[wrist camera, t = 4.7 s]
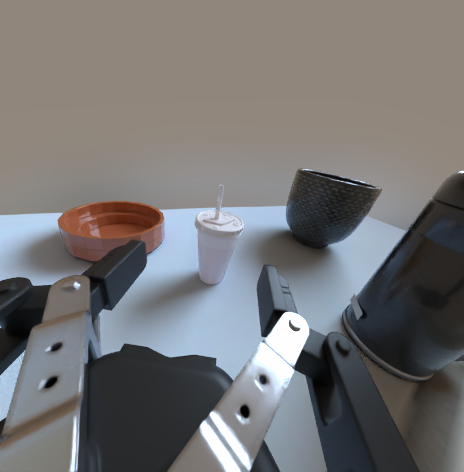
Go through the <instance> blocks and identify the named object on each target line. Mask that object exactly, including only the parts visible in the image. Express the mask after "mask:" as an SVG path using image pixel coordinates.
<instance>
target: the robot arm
mask: <svg viewBox="0 0 464 472" xmlns="http://www.w3.org/2000/svg"><path fill="white" fill-rule="evenodd" d="M146 263H147V255H146V243H145V242H144V241H139V240H134V239H132V240H130V241H129V242H128V243H127V244H125V245H121V246H119V247H116V248H114V249H112V250H111V251H110V252H109V253H107V255H105V256H104V257H103V258H102V259H100V260H99V261H98V262H96V263H95V264H94V265H93V266H91V267H90V268H89V269H88V270H86V271H85V272H84V273H83V274H81V275H73V276H69V277H65V278H63V279H61V280H59V281H57V282H56V283H54V284H53V285H43V286H32V284H31V282H30V280H29V279H27V278H22V277H17V278H10V279H6V280H2V281H0V326H1V328H0V375H1V374H2V373H3V372H4V371H5V370H6V369H7V368H8V367H9V366H10V365H11V364H12V363H13V362H14V361H15V360H16V359H17V358H18V357H19V356H20V355H21V354H22V353H23V352H24V351H25V350H26V351H25V354H24V358H23V361H22V365H21V368H20V372H19V375H18V379H17V382H16V386H15V389H14V393H13V397H12V400H11V404H10V407H9V411H8V414H7V417H6V418H4V419H3V420H1V421H0V472H280V470H279V468H278V466H277V464H276V462H275V460H274V458H273V456H272V454H271V452H270V450H269V448H268V446H267V444H266V442H265V441H264V438H265V435H266V433H267V431H268V429H269V426H270V424H271V422H272V420H273V418H274V415H275V413H276V411H277V409H278V406H279V404H280V402H281V400H282V397H283V395H284V393H285V391H286V388H287V386H288V384H289V382H290V379H291V377H292V375H293V373H294V370H296V371H298V372H300V373H302V374H304V375H306V380H307V384H308V388H309V393H310V397H311V402H312V406H313V410H314V415H315V419H316V424H317V428H318V433H319V437H320V441H321V446H322V450H323V455H324V459H325V463H326V468H327V472H420V471H419V469H418V467H417V465H416V463H415V461H414V460H413V458H412V456H411V454H410V452H409V450H408V448H407V446H406V444H405V442H404V440H403V438H402V436H401V434H400V432H399V430H398V428H397V426H396V424H395V422H394V420H393V418H392V417H391V415H390V413H389V411H388V409H387V407H386V405H385V403H384V401H383V399H382V397H381V395H380V393H379V391H378V389H377V387H376V385H375V383H374V381H373V379H372V377H371V375H370V374H369V372H368V370H367V368H366V366H365V364H364V362H363V360H362V358H361V356H360V354H359V352H358V350H357V348H356V347H355V345H354V344H353V343H352V342H351V341H350V340H349V339H348V338H346V337H345V336H343V335H342V334H339V333H336V332H331V333H329V334H328V335H327V337H326V336H324V335H322V334H320V333H318V332H316V331H314V330H312V329H310V328H309V326H308V324H307V323H306V321H305V320H304V319H303V318H302V317H301V316H299V315H298V313H297V310H296V307H295V304H294V301H293V298H292V295H291V292H290V289H289V286H288V283H287V281H286V279H285V278H284V277H283V276H282V275H278V272H277V269H276V267H275V266H271V265H264V266H263V268H262V271H261V274H260V277H259V280H258V283H257V296H258V306H259V316H260V326H261V336H262V337H267V338H266V339H265V340H263V341H262V342H261V344H260V345H259V347H258V348H257V349H256V351H255V352H254V354H253V355H252V356H251V358H250V359H249V360H248V362H247V363H246V365H245V366H244V367H243V369H242V370H241V372H240V373H239V374H238V376H237V377H236V379H235V380H234V381H233V380H232V378H231V377H230V376H229V375H228V374H227V373H226V372H225V371H223V370H222V369H221V368H219V367H217V366H216V358H211V357H205V356H199V355H188V356H180V357H172V358H169V357H166V356H164V355H162V354H160V353H158V352H156V351H154V350H152V349H150V348H148V347H143V346H137V345H131V344H124V345H123V347H122V349H121V350H120V351H118V352H114V353H110V354H107V355H104V356H102V354H101V346H100V317H99V313H100V312H101V311H102V310H103V309H106V310H111V311H112V309H113V308H114V307H115V305H116V304H117V303H118V302H119V300H120V299H121V298H122V297H123V295H124V294H125V293H126V292H127V290H128V289H129V288H130V286H131V285H132V284H133V283H134V281H135V280H136V279H137V278H138V276H139V275H140V274H141V273H142V271H143V270H144V268H145V266H146ZM350 301H351V304H350V305H349V306H348V307H347V308H346V309H345V310H344V312H343V322H344V325H345V328H346V330H347V332H348V333H349V335H350V336H351V338H352V339H353V341H354V342H355V343H356V344H357V346H358V347H359V348H360V349H361V350H362V351H363V352H364V353H365V354H366V355H367V356H368V357H370V358H371V359H372V360H373V361H374V362H376V363H377V364H378V365H380V366H381V367H382V368H384V369H386V370H387V371H389V372H391V373H392V374H394V375H396V376H398V377H400V378H403V379H406V380H409V381H413V382H423V381H426V380H427V379H429V378H431V377H432V376H433V375H434V373H435V372H437V371H438V370H440V369H441V368H443V367H445V366H446V365H448V364H449V363H451V362H453V361H464V170H463V171H459V172H457V173H454V174H452V175H451V176H450V177H448V178H447V179H446V180H445V181H444V182H443V183H442V185H441V186H440V187H439V189H438V190H437V191H436V193H435V194H434V195H433V197H432V199H431V200H430V201H429V202H428V203H427V204H426V206H425V207H424V208H423V210H422V211H421V212H420V214H419V215H418V216H417V218H416V219H415V220H414V222H413V223H412V224H411V226H410V227H409V228H408V230H407V231H406V232H405V234H404V235H403V236H402V238H401V239H400V240H399V241H398V243H397V244H396V245H395V247H394V248H393V249H392V251H391V252H390V253H389V255H388V256H387V257H386V258H385V260H384V261H383V262H382V264H381V265H380V266H379V268H378V269H377V270H376V272H375V273H374V274H373V275H372V277H371V278H370V279H369V281H368V282H367V283H366V285H365V286H364V287H363V289H362V290H361V291H360V292H359V294H358V295H357V296H355V294H354V296H353V297H352V298H351V300H350Z"/></svg>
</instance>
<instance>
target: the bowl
mask: <svg viewBox="0 0 464 472" xmlns="http://www.w3.org/2000/svg"><path fill="white" fill-rule="evenodd" d="M58 225H59V229H60V232H61V235H62V238H63V241H64V244H65V247H66V250H67V251H69V252H70V253H71V254H72V255H74V256H75V257H78V258H81V259H85V260H88V261H99V260H100V259H102V258H103V257H104V256H105V255H107V253H109V252H110V251H111V250H112V249H114V248H116V247H119V246H121V245H125V244H127V243H128V242H129V241H130V240H132V239H134V240H139V241H144V242H145V243H146V254H147V253H149V252H151V251H153V250H154V249H156V248H157V247H158V246H159V245H160V244H161V243H162V241H163V239H164V216H163V213H162V212H160V211H159V210H158V209H156V208H154V207H152V206H150V205H146V204H141V203H136V202H127V201H109V202H98V203H92V204H85V205H82V206H79V207H75V208H73V209H71V210H69V211H67V212H65V213H63V214H62V215H61V217H60V218H59V219H58Z"/></svg>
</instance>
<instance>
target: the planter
mask: <svg viewBox="0 0 464 472" xmlns="http://www.w3.org/2000/svg"><path fill="white" fill-rule="evenodd" d="M381 191H382V189H381V188H380V187H377V186H374V185H371V184H368V183H364V182H361V181H357V180H353V179H349V178H346V177H341V176H337V175H333V174H328V173H324V172H319V171H313V170H308V169H298V170H297V172H296V175H295V178H294V181H293V184H292V187H291V191H290V194H289V198H288V203H287V207H286V220H287V223H288V226H289V227H290V229H291V232H292V235H293V237H294V238H295V239H296V240H298V241H299V242H301V243H303V244H305V245H308V246H311V247H315V248H323V247H326V246H327V245H329V244H334V243H338V242H340V241H342V240H344V239H345V238H347V237H348V236H349V235H351V234H352V233H353V232H354V231H355V229H356V228H357V227H358V226H359V225H360V223H361V222H362V221H363V219H364V218H365V217H366V215H367V214H368V212H369V211H370V209H371V207H372V206H373V204H374V203H375V201H376V200H377V198H378V197H379V195H380V193H381Z"/></svg>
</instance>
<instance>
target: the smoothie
mask: <svg viewBox="0 0 464 472" xmlns="http://www.w3.org/2000/svg"><path fill="white" fill-rule="evenodd" d="M223 190H224V186H223V185H220V186H219V192H218V199H217V206H216V210H208V211H203V212H200V213H199V214H197V216H196V221H195V226H196V228H197V231H198V255H199V277H200V279H201V280H202V281H203V282H205V283H207V284H217V283H219V282H221V281H222V279H223V277H224V274H225V271H226V269H227V266H228V263H229V261H230V258H231V256H232V253H233V250H234V248H235V245H236V243H237V240H238V237H239V236H240V235H241V234H242V233H243V228H244V222H243V221H242V220H241V219H240V218H239V217H237V216H236V215H233V214H231V213H228V212H224V211H220V209H221V202H222V197H223Z"/></svg>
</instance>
